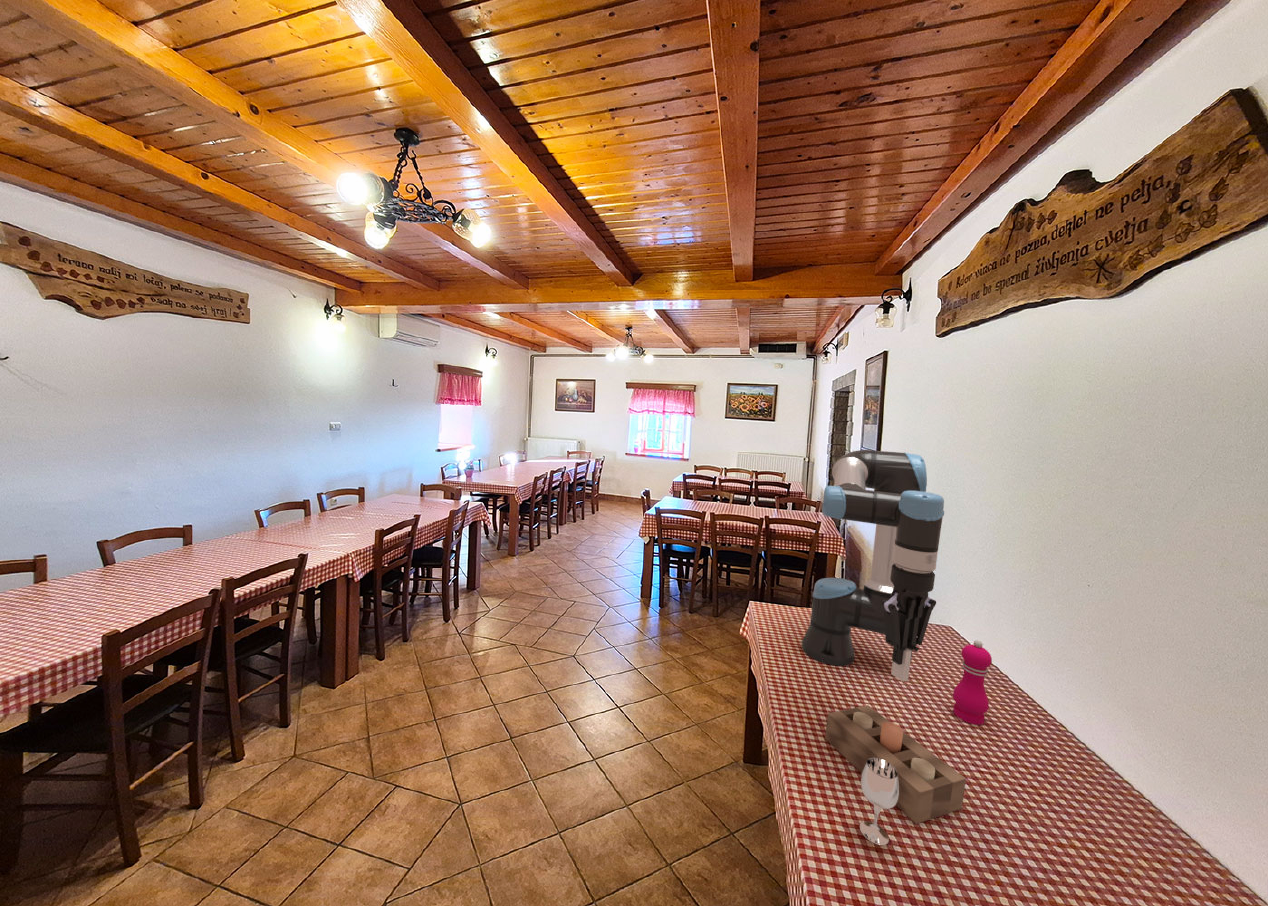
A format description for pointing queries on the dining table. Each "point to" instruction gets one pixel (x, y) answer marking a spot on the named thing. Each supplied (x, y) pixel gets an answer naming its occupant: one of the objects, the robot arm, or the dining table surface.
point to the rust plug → (891, 737)
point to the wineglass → (879, 795)
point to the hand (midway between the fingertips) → (899, 677)
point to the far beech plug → (862, 720)
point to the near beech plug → (923, 769)
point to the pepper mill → (972, 685)
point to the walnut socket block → (898, 765)
